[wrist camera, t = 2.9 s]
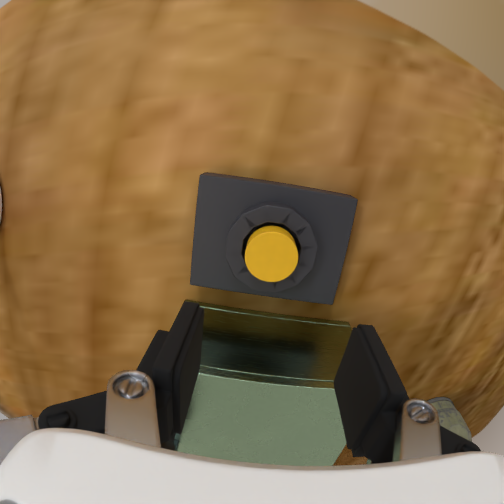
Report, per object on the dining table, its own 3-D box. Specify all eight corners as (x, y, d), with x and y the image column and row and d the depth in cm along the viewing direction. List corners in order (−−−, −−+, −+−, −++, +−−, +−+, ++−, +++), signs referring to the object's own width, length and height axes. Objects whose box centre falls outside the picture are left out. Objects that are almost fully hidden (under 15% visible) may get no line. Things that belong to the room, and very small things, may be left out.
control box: (195, 274, 27) (184, 294, 24) (205, 172, 25) (194, 176, 21) (328, 293, 27) (336, 315, 24) (350, 195, 25) (364, 203, 21)
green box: (182, 398, 33) (164, 457, 24) (185, 299, 28) (156, 356, 20) (313, 415, 33) (321, 474, 25) (348, 321, 28) (373, 382, 20)
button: (243, 268, 23) (241, 278, 22) (249, 221, 22) (248, 227, 20) (291, 275, 23) (292, 285, 22) (300, 229, 22) (302, 236, 20)
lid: (156, 455, 24) (143, 498, 19) (145, 354, 20) (118, 408, 15) (321, 474, 24) (326, 518, 19) (373, 382, 20) (393, 437, 15)
